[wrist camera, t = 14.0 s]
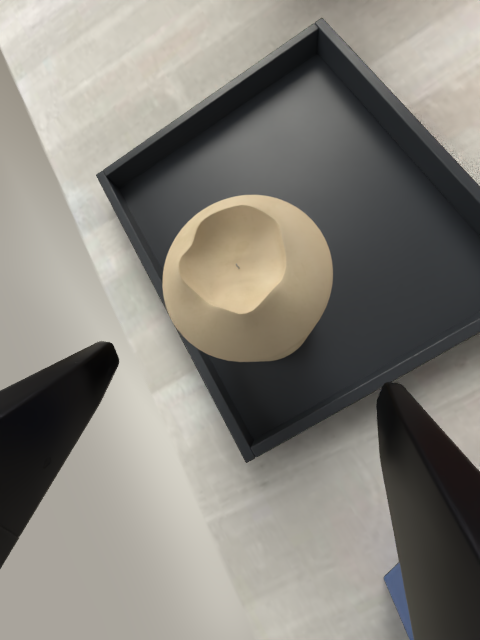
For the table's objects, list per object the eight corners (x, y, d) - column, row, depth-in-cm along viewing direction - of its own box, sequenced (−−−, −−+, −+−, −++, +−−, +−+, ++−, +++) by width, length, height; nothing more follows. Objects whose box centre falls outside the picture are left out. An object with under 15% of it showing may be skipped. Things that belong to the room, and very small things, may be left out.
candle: (318, 356, 16) (359, 350, 6) (227, 365, 17) (141, 372, 7) (305, 267, 17) (324, 142, 7) (219, 280, 18) (134, 185, 8)
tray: (251, 450, 17) (246, 463, 14) (114, 192, 21) (95, 174, 19) (532, 292, 15) (570, 281, 13) (318, 52, 20) (322, 16, 18)
